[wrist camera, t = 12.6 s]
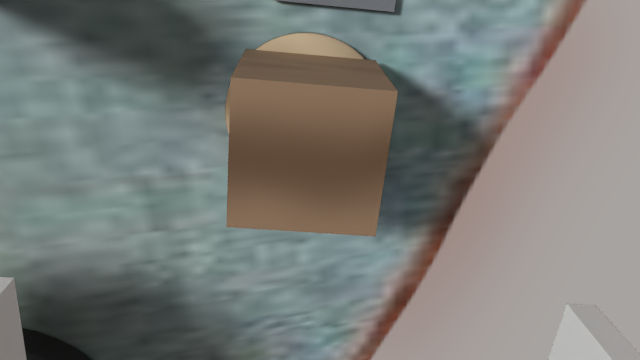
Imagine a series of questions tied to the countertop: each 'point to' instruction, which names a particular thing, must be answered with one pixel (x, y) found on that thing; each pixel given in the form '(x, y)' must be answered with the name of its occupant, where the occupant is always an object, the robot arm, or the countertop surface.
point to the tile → (354, 4)
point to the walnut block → (308, 142)
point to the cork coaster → (304, 50)
